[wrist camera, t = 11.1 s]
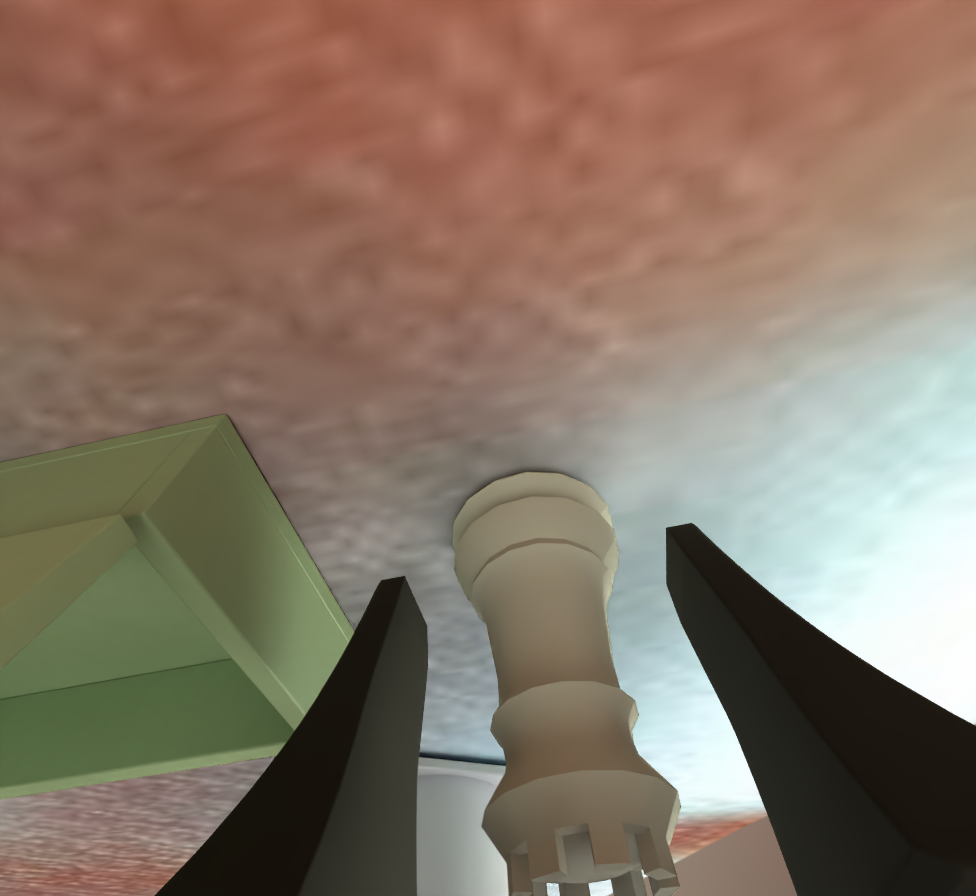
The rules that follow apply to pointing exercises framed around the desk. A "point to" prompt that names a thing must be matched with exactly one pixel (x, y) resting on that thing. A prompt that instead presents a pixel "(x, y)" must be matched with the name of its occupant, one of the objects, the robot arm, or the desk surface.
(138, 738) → the chest
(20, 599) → the lid
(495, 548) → the rook chess piece
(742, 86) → the desk surface
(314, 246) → the desk surface
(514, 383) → the desk surface
